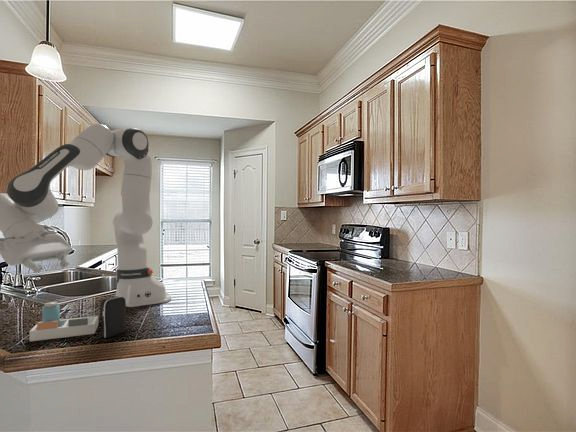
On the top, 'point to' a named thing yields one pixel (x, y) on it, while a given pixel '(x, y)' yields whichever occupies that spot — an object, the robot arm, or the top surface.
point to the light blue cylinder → (51, 312)
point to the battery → (113, 316)
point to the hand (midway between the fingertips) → (53, 268)
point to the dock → (64, 328)
